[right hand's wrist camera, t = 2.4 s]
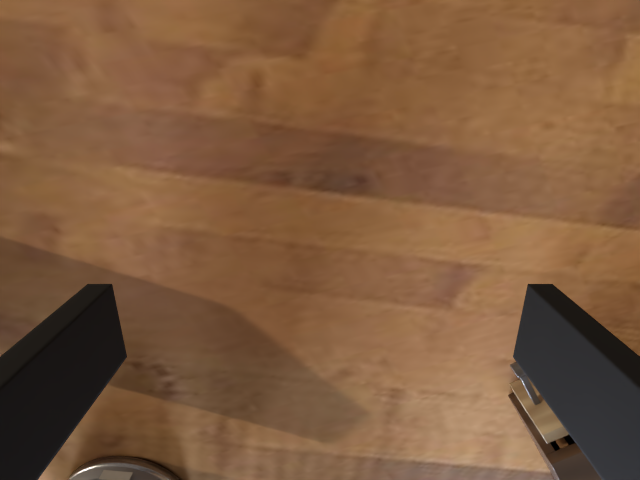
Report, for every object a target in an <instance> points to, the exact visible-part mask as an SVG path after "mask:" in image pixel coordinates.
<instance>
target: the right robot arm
mask: <svg viewBox="0 0 640 480" xmlns="http://www.w3.org/2000/svg"><path fill="white" fill-rule="evenodd" d="M126 357H127V355H126V350H125V345H124V340H123V335H122V331H121V326H120V321H119V316H118V311H117V306H116V301H115V296H114V291H113V287H112V284H87V285H86V286H85V287H84V288H82V289H81V290H80V291H79V292H78V293H76V294H75V295H74V296H73V297H72V298H70V299H69V300H68V301H67V302H66V303H64V304H63V305H62V306H61V307H60V308H58V309H57V310H56V311H55V312H54V313H52V314H51V315H50V316H49V317H48V318H46V319H45V320H44V321H43V322H42V323H40V324H39V325H38V326H37V327H35V328H34V329H33V330H32V331H31V332H29V333H28V334H27V335H26V336H25V337H23V338H22V339H21V340H20V341H19V342H17V343H16V344H15V345H14V346H13V347H11V348H10V349H9V350H8V351H7V352H5V353H4V354H3V355H2V356H1V357H0V480H38V479H39V477H40V476H41V474H42V473H43V472H44V470H45V469H46V468H47V466H48V465H49V463H50V462H51V461H52V459H53V458H54V457H55V455H56V454H57V452H58V451H59V450H60V448H61V447H62V446H63V444H64V443H65V441H66V440H67V439H68V437H69V436H70V435H71V433H72V432H73V430H74V429H75V428H76V426H77V425H78V424H79V422H80V421H81V419H82V418H83V417H84V415H85V414H86V413H87V411H88V410H89V408H90V407H91V406H92V404H93V403H94V402H95V400H96V399H97V397H98V396H99V395H100V393H101V392H102V391H103V389H104V388H105V386H106V385H107V384H108V382H109V381H110V379H111V378H112V377H113V375H114V374H115V373H116V371H117V370H118V368H119V367H120V366H121V364H122V363H123V362H124V360H125V359H126ZM513 357H514V359H515V360H516V362H517V363H518V364H519V366H520V367H521V368H522V370H523V371H524V373H525V374H526V375H527V377H528V378H529V379H530V381H531V382H532V384H533V385H534V386H535V388H536V389H537V391H538V392H539V393H540V395H541V396H542V397H543V399H544V400H545V402H546V403H547V404H548V406H549V407H550V408H551V410H552V411H553V413H554V414H555V415H556V417H557V418H558V419H559V421H560V422H561V424H562V425H563V426H564V428H565V429H566V430H567V432H568V433H569V435H570V436H571V437H572V439H573V440H574V441H575V443H576V444H577V446H578V447H579V448H580V450H581V451H582V452H583V454H584V455H585V457H586V458H587V459H588V461H589V462H590V463H591V465H592V466H593V468H594V469H595V470H596V472H597V473H598V474H599V476H600V477H601V479H602V480H640V357H639V356H638V355H637V354H636V353H635V352H633V351H632V350H631V349H630V348H629V347H627V346H626V345H625V344H624V343H623V342H621V341H620V340H619V339H618V338H617V337H615V336H614V335H613V334H612V333H611V332H609V331H608V330H607V329H606V328H605V327H603V326H602V325H601V324H600V323H598V322H597V321H596V320H595V319H594V318H592V317H591V316H590V315H589V314H588V313H586V312H585V311H584V310H583V309H582V308H580V307H579V306H578V305H577V304H576V303H574V302H573V301H572V300H571V299H570V298H568V297H567V296H566V295H565V294H564V293H562V292H561V291H560V290H559V289H558V288H556V287H555V286H554V285H553V284H528V287H527V291H526V296H525V301H524V306H523V311H522V316H521V321H520V326H519V331H518V335H517V340H516V345H515V350H514V355H513ZM68 480H180V479H179V478H177V477H176V476H175V475H174V474H173V473H171V472H170V471H168V470H167V469H165V468H163V467H161V466H159V465H157V464H155V463H152V462H149V461H146V460H143V459H139V458H133V457H124V456H112V457H104V458H99V459H95V460H93V461H90V462H88V463H85V464H84V465H82V466H80V467H79V468H78V469H76V470H75V471H74V472H73V473H72V474H71V476H70V477H69V479H68Z"/></svg>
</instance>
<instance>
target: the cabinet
mask: <svg viewBox="0 0 640 480" xmlns="http://www.w3.org/2000/svg"><path fill="white" fill-rule="evenodd" d="M508 396H509V398H510V400H511V401H512V403H513V405H514V407H515V409H516V410H517V412H518V414H519V416H520V418H521V419H522V421H523V423H524V425H525V427H526V428H527V430H528V432H529V434H530V436H531V437H532V439H533V441H534V443H535V445H536V446H537V448H538V450H539V452H540V454H541V455H542V457H543V459H544V461H545V463H546V464H547V466H548V468H549V470H550V472H551V473H552V475H553V477H554V479H555V480H602V479H601V477H600V476H599V474H598V473H597V472H596V470H595V469H594V468H593V466H592V465H591V463H590V462H589V461H588V459H587V458H586V457H585V455H584V454H583V452H582V451H581V450H580V448H579V447H578V446H577V444H576V443H574V444H572V445H569V446H567V447H564V448H562V449H559V450H557V451H555V449H554V448H553V446H552V444H551V442H550V443H548V444H547V443H546V442H545V440H544V438H543V437H542V435H541V434H540V432H539V431H538V429H537V428H536V426H535V424H534V423H533V421H532V420H531V418H530V417H529V415H528V414H527V412H526V411H525V409H524V407H523V406H522V404H521V403H520V401H519V400H518V398H517V397H516V395H515V393H512V394H510V395H508Z"/></svg>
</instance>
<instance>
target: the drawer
mask: <svg viewBox="0 0 640 480" xmlns="http://www.w3.org/2000/svg"><path fill="white" fill-rule="evenodd" d="M510 367H511V368H512V370H513V372H514V373H515V375H516V376H517V378H520V379H519V380H517V381H515V382H513V383H510V384H509V385H510V386H511V388H512V390H513V392H514V393H515V395H516V397H517V398H518V400H519V401H520V403H521V404H522V406H523V407H524V409H525V411H526V412H527V414H528V415H529V417H530V418H531V420H532V421H533V423H534V424H535V426H536V428H537V429H538V431H539V432H540V434H541V435H542V437H543V438H544V440H545V442H546V443H547V444H548V443H550V442H551V444H552V446H553V448H554V449H555V451H557V450H559V449H562V448H564V447H567V446H569V445H572V444H574V443H575V441H574V440H573V439H572V437H571V436H570V435H569V433H568V432H567V430H566V429H565V428H564V426H563V425H562V424H561V422H560V421H559V419H558V418H557V417H556V415H555V414H554V413H553V411H552V410H551V408H550V407H549V406H548V404H547V403H546V402H545V400H544V399H543V397H542V396H541V395H540V393H539V392H538V391H537V389H536V388H535V386H534V385H533V384H532V382H531V381H530V379H529V378H528V377H527V375H526V374H525V373H524V371H523V370H522V368H521V367H520V366H519V364H518V363H517V362H515V363H513V364H510Z"/></svg>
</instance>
